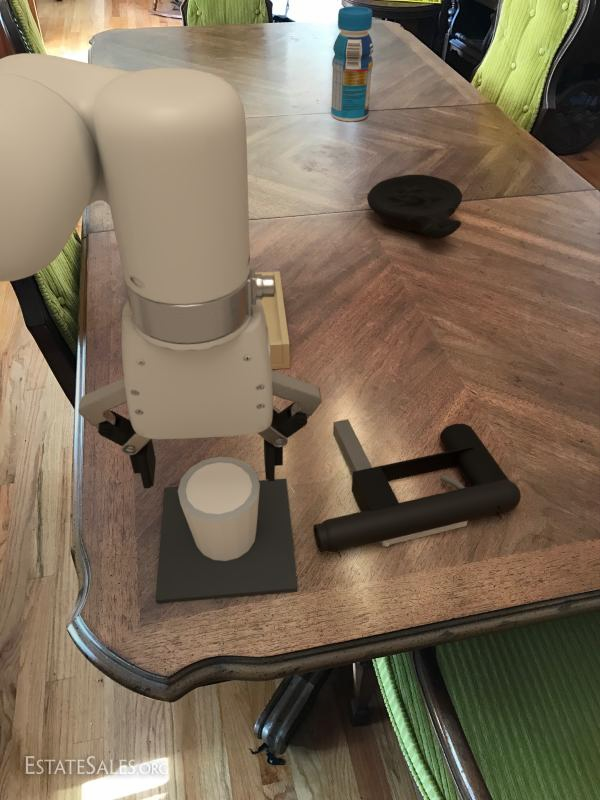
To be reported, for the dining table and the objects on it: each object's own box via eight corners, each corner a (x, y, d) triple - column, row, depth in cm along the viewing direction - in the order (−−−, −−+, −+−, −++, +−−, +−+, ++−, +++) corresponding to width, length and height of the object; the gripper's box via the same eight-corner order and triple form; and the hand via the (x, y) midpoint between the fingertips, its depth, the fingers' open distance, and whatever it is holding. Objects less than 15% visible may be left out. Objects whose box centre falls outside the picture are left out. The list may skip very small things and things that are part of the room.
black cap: (391, 263, 91) (395, 232, 88) (354, 203, 105) (356, 175, 101) (484, 252, 93) (491, 222, 90) (436, 195, 107) (441, 167, 104)
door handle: (279, 427, 63) (325, 552, 52) (456, 392, 67) (536, 502, 56) (280, 449, 66) (325, 575, 54) (451, 414, 70) (528, 524, 58)
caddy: (158, 376, 73) (153, 351, 70) (166, 300, 84) (162, 276, 81) (289, 368, 74) (289, 343, 71) (280, 294, 85) (279, 271, 82)
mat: (156, 603, 52) (155, 600, 52) (165, 491, 61) (164, 487, 60) (297, 591, 53) (297, 588, 52) (286, 481, 61) (286, 478, 61)
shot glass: (205, 580, 53) (195, 533, 48) (176, 521, 57) (165, 473, 52) (276, 546, 55) (274, 499, 50) (243, 493, 60) (239, 445, 55)
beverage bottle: (322, 116, 134) (325, 10, 120) (346, 106, 139) (352, 2, 125) (352, 125, 130) (359, 17, 116) (376, 115, 135) (385, 9, 121)
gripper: (321, 259, 42) (310, 432, 53) (58, 266, 40) (107, 442, 52) (336, 327, 36) (321, 502, 48) (33, 338, 35) (95, 516, 47)
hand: (210, 471), depth 50 cm, fingers open, 9 cm apart
